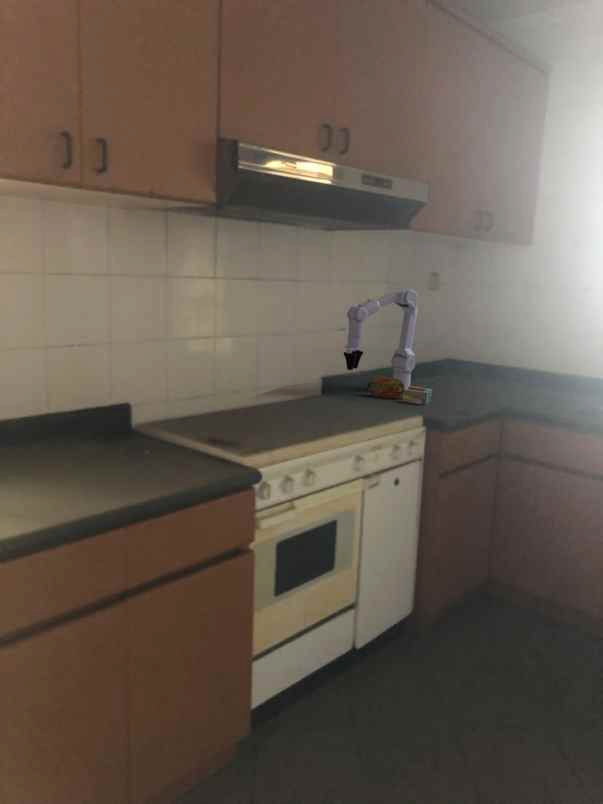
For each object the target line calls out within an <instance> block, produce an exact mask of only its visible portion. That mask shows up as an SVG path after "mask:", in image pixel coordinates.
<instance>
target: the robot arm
mask: <svg viewBox="0 0 603 804" xmlns="http://www.w3.org/2000/svg"><path fill="white" fill-rule="evenodd" d="M418 299H419V295H418V294H417V292H416V291H415V290H413V289H403V288H396V289H392V290H390V292H388V293H386V294H385V295H383V296H381V297H379V298H377V299H374V298H368V299H366V300H367V301H365V302H362V303H361V302H360V303H358V305H357V306H355V305H352V306H351V307H350V308H349V309H348V311H347V312H346V317H347V319H348V333H347V334H348V335H347V344H346V345H344V346H343V347H344V349H346V351H344V352H343V356H344V358H345V362H346V369H347V370H348V371H353V370H354V369H358V368H359V367H358V366H359V363H360V360H361V358H362V357H363V355H364V351H363V350H362V344H363V343H362V341H363V333H364V332H363V329H364V322H365V321H366V320H367V318H368V317H370V316H371V315H374V314H376V313H378V312H379V310H380V308H382V307H384V306H387V305H389V304H391V303H394V304H396V305H397V306H399V307H400V308H401V309H402V311H403V317H402V318H403V319H402V323H401V324H402V325H401V331H400V339H399V342H398V343H399V344H398V348H396V349H395V351H394V353H393V355H392V357H391V360H390V365H391V367H392V371H393V374H392V375H393V376H392V378H396V379H399V380H401V381H402V382H403V384H404V389H408V387H409V386H411V379H412V375H411V373H412V372H413V370H414V369H415V367H416V354H415V353H414V352H413V349H412V348H413V341H414V334H415V331H416V330H415V329H416V322H417V316H418V311H419V306H418ZM403 393H404V392H403Z"/></svg>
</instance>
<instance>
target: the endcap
mask: <svg viewBox="0 0 603 804" xmlns="http://www.w3.org/2000/svg"><path fill="white" fill-rule="evenodd" d="M432 394H433V389H432V388H425V387H418V386H411V385H410V386H409V387H408V389H404V393H403V394H402V403H407V402H408V404H413V405H414V404H415V405H416V404H417V405H422V406H427V405H428V404H430V403H431V402H432Z"/></svg>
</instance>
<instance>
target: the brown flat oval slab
mask: <svg viewBox="0 0 603 804" xmlns="http://www.w3.org/2000/svg"><path fill="white" fill-rule="evenodd" d="M367 391H368V392H369V394H370V395H371V396H373V397H375V396H378V397H377V398H383V397H385V399H391V398H394V399H393V400H395V399H399V398H400V397H402V396H403V392H404V384H403V382H402V381H401V380H399V379H396V378H393V377H386V376H374V377H372V378H371V379H370V380H368V383H367Z"/></svg>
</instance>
